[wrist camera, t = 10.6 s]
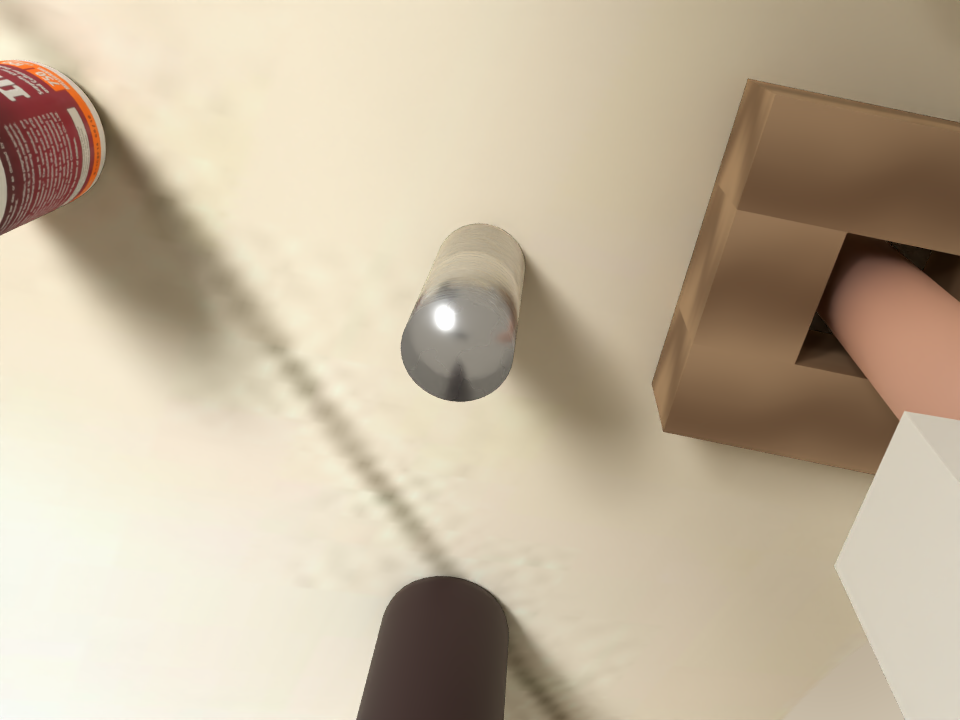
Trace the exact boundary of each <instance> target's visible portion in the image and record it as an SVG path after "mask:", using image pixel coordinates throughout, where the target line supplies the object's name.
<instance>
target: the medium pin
mask: <svg viewBox="0 0 960 720" xmlns="http://www.w3.org/2000/svg"><path fill="white" fill-rule="evenodd" d="M524 274H525V260H524V256H523V253H522V250H521V248H520V246H519V245H518V243H517V242H516V241H515V239H514V238H513V237H512V236H511V235H510V234H508V233H507V232H505V231H504V230H502V229H500V228H498V227H496V226H493V225H489V224H470V225H466V226H463V227H461V228H459V229H457V230H455V231H454V232H453V233H451V234H450V235H449V236H448V237H447V238H446V239H445V241H444V242H443V244H442V245H441V247H440V250H439V252H438V254H437V256H436V259H435V261H434V263H433V266H432V268H431V270H430V272H429V275H428V277H427V279H426V282H425V284H424V286H423V288H422V291H421V293H420V295H419V297H418V300H417V302H416V304H415V307H414V309H413V311H412V313H411V316H410V318H409V320H408V323H407V325H406V327H405V329H404V332H403V335H402V340H401V355H402V360H403V363H404V366H405V368H406V370H407V372H408V374H409V375H410V377H411V378H412V379H413V380H414V382H415V383H416V384H417V385H418V386H420V387H421V388H422V389H423V390H425V391H426V392H428V393H429V394H431V395H433V396H435V397H438V398H441V399H444V400H449V401H456V402H465V401H472V400H476V399H479V398H482V397H485V396H486V395H488V394H490V393H492V392H493V391H494V390H496V389H497V388H498V387H499V386H500V385H501V384H502V383H503V382H504V380H505V379H506V377H507V376H508V374H509V371H510V369H511V366H512V362H513V355H514V348H515V341H516V333H517V326H518V319H519V311H520V304H521V296H522V289H523V282H524Z"/></svg>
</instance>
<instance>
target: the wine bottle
mask: <svg viewBox="0 0 960 720" xmlns="http://www.w3.org/2000/svg"><path fill="white" fill-rule="evenodd" d="M508 642H509V632H508V625H507V621H506V618H505V614H504V611H503V610H502V608H501V606H500V604H499V603H498V602H497V601H496V599H495V598H494V597H493V596H492V595H491V594H490V593H488V592H487V591H486V590H484V589H483V588H482V587H480V586H478V585H476V584H474V583H472V582H469V581H466V580H463V579H460V578H454V577H446V576H435V577H428V578H423V579H420V580H417V581H414V582H412V583H410V584H408V585H406V586H405V587H403V588H402V589H401V590H400V591H399V592H397V593H396V595H395V596H394V597H393V599H392V600H391V601H390V603H389V605H388V606H387V608H386V610H385V613H384V615H383V618H382V622H381V626H380V630H379V634H378V638H377V642H376V646H375V649H374V653H373V657H372V661H371V665H370V669H369V673H368V677H367V680H366V684H365V688H364V692H363V696H362V700H361V704H360V708H359V711H358V715H357V719H356V720H504V705H505V689H506V673H507V657H508Z"/></svg>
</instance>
